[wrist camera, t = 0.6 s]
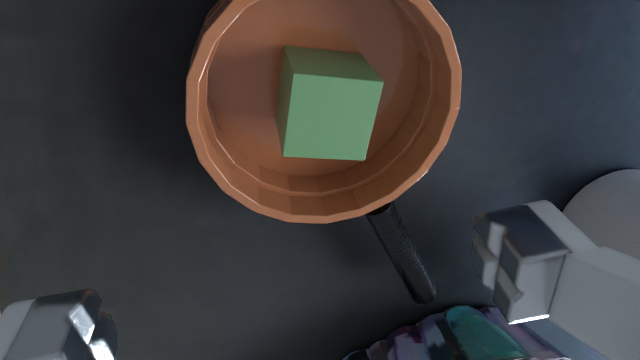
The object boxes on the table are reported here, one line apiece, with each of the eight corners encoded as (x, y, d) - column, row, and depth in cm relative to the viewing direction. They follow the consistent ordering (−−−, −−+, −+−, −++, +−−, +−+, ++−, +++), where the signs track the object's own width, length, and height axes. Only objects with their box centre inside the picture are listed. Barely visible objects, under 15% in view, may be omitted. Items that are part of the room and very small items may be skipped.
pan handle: (358, 201, 28) (366, 220, 27) (386, 187, 28) (396, 206, 27) (407, 288, 34) (416, 308, 32) (431, 277, 34) (441, 297, 32)
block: (275, 119, 26) (282, 156, 23) (283, 44, 24) (293, 73, 20) (346, 124, 27) (364, 160, 24) (361, 53, 25) (384, 81, 21)
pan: (137, 34, 23) (119, 62, 19) (380, -107, 21) (412, -106, 18) (270, 214, 31) (275, 258, 27) (455, 121, 29) (487, 154, 26)
